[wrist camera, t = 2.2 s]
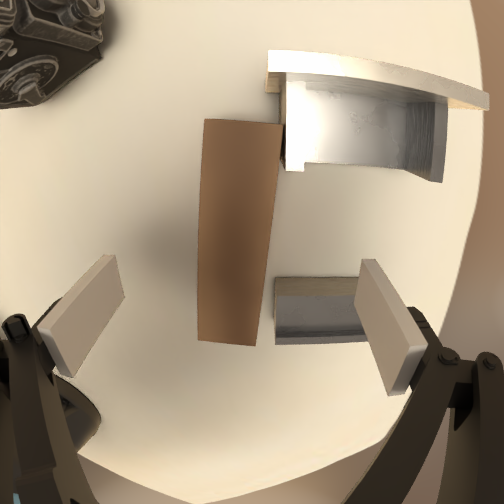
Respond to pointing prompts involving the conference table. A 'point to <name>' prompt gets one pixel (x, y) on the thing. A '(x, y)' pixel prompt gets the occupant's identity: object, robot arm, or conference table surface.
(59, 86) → the camera
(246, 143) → the rail
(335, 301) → the rest block
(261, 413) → the conference table surface
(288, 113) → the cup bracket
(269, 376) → the conference table surface
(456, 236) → the conference table surface
